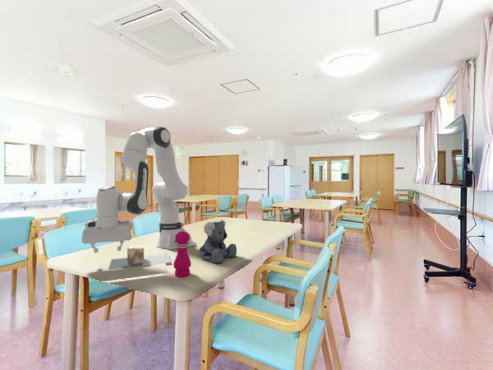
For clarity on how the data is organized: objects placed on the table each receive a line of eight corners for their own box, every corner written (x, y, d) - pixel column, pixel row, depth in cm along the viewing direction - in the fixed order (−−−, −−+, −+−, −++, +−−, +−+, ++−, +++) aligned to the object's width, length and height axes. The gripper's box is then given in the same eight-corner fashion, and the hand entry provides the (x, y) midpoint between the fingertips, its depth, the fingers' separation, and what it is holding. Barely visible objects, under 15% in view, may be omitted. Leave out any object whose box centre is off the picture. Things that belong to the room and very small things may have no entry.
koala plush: (218, 265, 120) (218, 224, 119) (191, 258, 130) (191, 220, 129) (239, 256, 134) (239, 219, 134) (213, 250, 144) (213, 216, 144)
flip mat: (167, 255, 135) (167, 253, 135) (171, 264, 121) (171, 262, 121) (111, 261, 124) (111, 259, 124) (108, 271, 111) (108, 269, 111)
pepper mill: (175, 271, 112) (175, 226, 111) (192, 271, 112) (192, 226, 112) (172, 278, 104) (172, 229, 104) (189, 277, 105) (189, 229, 104)
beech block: (128, 260, 124) (143, 258, 126) (127, 264, 117) (143, 262, 120) (128, 245, 123) (143, 244, 126) (127, 249, 117) (143, 248, 120)
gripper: (132, 219, 124) (132, 247, 124) (83, 221, 116) (83, 251, 116) (132, 221, 118) (132, 250, 118) (80, 224, 110) (80, 255, 110)
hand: (107, 251), depth 117 cm, fingers open, 8 cm apart
